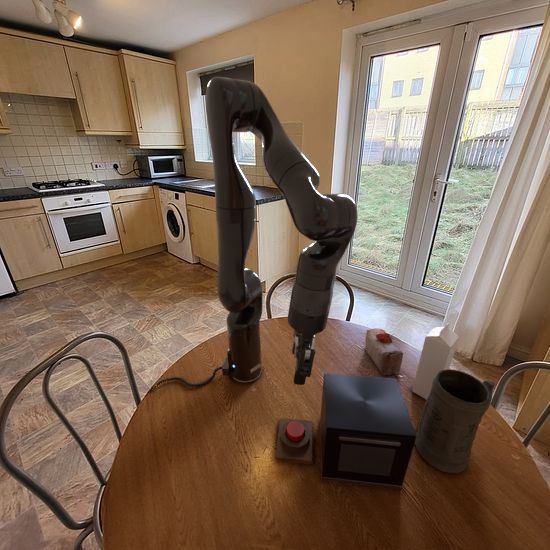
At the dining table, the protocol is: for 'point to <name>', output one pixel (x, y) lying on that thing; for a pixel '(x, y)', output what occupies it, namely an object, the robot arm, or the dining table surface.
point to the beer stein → (452, 419)
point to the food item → (383, 351)
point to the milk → (434, 358)
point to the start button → (295, 431)
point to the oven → (364, 431)
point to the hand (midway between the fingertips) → (297, 367)
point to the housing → (294, 444)
